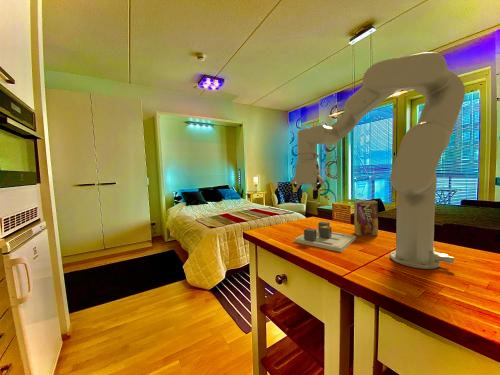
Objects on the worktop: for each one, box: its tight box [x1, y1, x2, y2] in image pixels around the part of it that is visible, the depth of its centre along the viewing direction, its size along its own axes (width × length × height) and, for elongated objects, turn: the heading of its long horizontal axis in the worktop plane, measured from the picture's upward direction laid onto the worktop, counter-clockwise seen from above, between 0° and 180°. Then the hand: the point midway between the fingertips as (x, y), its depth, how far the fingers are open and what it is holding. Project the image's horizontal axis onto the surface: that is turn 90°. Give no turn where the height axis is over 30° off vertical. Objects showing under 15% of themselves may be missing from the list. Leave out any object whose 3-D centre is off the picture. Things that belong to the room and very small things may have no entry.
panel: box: [294, 228, 357, 253], centre depth 91 cm, size 19×18×2 cm
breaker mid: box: [319, 226, 333, 238], centre depth 91 cm, size 4×3×4 cm
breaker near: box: [303, 227, 317, 241], centre depth 88 cm, size 4×3×4 cm
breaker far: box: [317, 221, 331, 231], centre depth 98 cm, size 4×3×4 cm
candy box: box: [353, 200, 379, 236], centre depth 97 cm, size 9×4×15 cm, turn 79°
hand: (307, 198), depth 95 cm, fingers open, 6 cm apart
